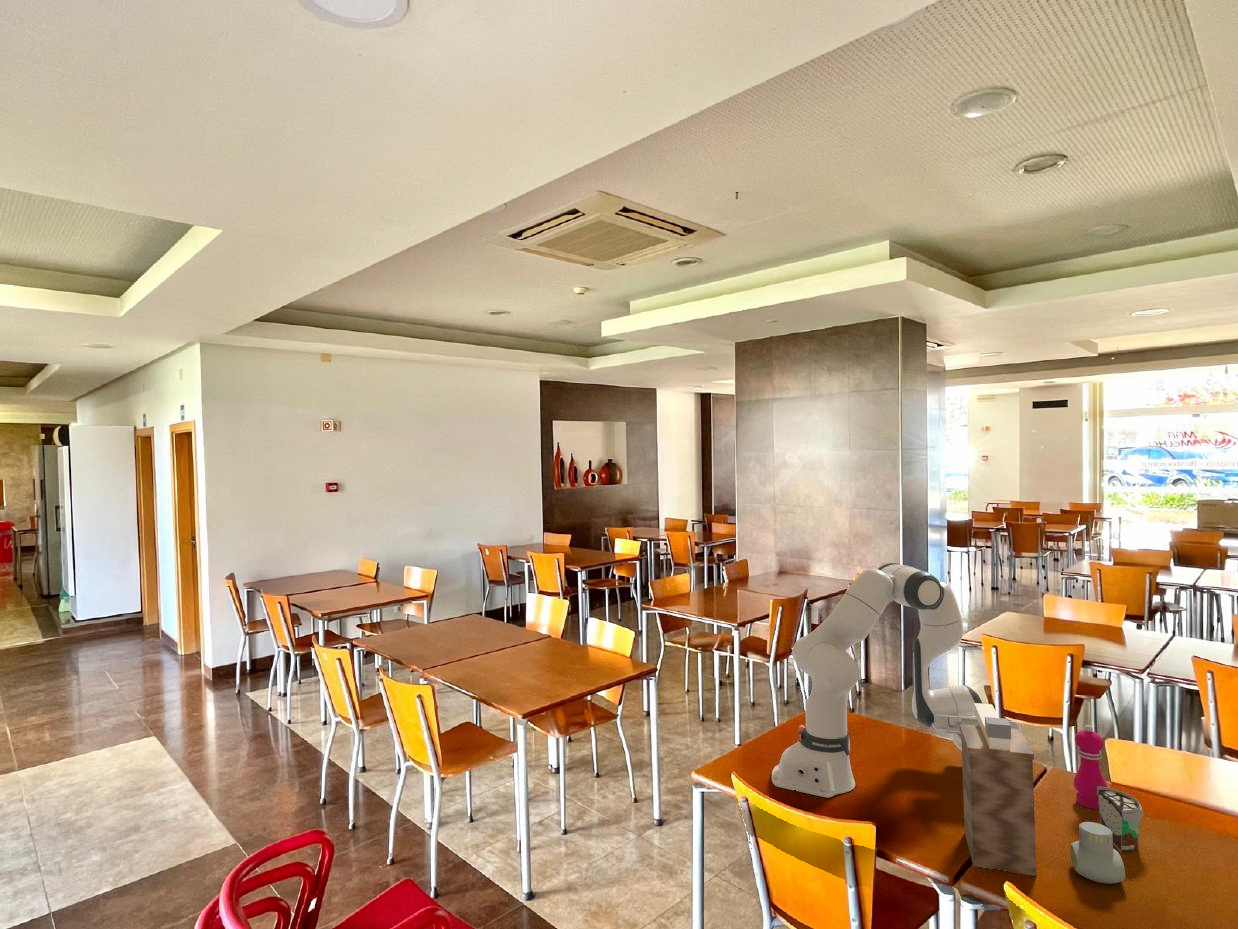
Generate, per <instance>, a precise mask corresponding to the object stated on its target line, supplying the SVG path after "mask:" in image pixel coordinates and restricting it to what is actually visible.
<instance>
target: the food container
mask: <svg viewBox="0 0 1238 929" xmlns="http://www.w3.org/2000/svg"><path fill="white" fill-rule="evenodd" d="M1097 794H1098V800H1099V809H1098V810H1099V811H1098V812H1099V820H1100V821H1099V824H1101V825H1104V826H1106V827H1107V828H1109V829H1110V830H1111V832H1112V835H1113V846H1115V847H1116V848H1117V850H1118V851H1120V853H1122V854H1129V853H1134V852H1136V851H1137V850H1138V848H1139V837H1140V836H1139V832H1140V820H1141V819H1142V818H1143V817H1144V810H1143V807H1142V805H1141V804H1140V802H1139V800H1138V799H1137V798H1135V797H1134V796H1133V795H1131V794H1129V793H1126V792H1124V791H1121V790H1119V789H1114V788H1111V787H1108V788H1106V787H1098V789H1097Z"/></svg>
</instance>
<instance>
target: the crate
mask: <svg viewBox="0 0 1238 929" xmlns="http://www.w3.org/2000/svg"><path fill="white" fill-rule="evenodd" d="M960 731H961V739H962V751H961V761H962V762H961V763H962V768H961V769H962V790H963V791H962V793H963V794H962V795H963V796H962V797H963V823H964V835H965V840H966V843H967V847H968V851H969V856H970V858H971V862H972V865H973V868H979V867H982V869H986V868H988V869H987V870H992V869H1000V870H1006V871H1009V872H1008V873H1012V874H1013V873H1014V874H1020V875H1026V876H1034V877H1038V876H1037V851H1036V849H1037V848H1036V847H1037V846H1036V824H1035V823H1036V822H1035V821H1036V820H1035V817H1036V816H1035V794H1034V792H1035V790H1034V763H1033V762H1034V761H1033V760H1035V753H1034V751H1033V750H1032V748H1031V746H1030V745H1029V743H1028V741H1027V739H1026V737H1025V736H1024V734H1023V733H1022V731H1021V729H1020V728H1019V729H1011V739H1010V749H1011V751H1006V750H995V749H989V746H988V744H987V742H986V739H985V737H984V734H983V732H982V730H981V727H980V726H976V725H965V724H960ZM1006 871H1005V872H1006Z"/></svg>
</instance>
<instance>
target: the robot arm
mask: <svg viewBox="0 0 1238 929" xmlns="http://www.w3.org/2000/svg"><path fill="white" fill-rule="evenodd" d="M892 602H896V604H899V605H902V606H905V607H908V608H909V607H910V608H913V609H916V610H917V611H918V617H919V622H920V629H919V633H918V635H917V637H916V638H915V639H913V641H912V645H911V669H912V670H911V673H912V675H911V677H912V679H911V680H912V696H911V697H912V699H911V709H912V710H911V711H912V713H913V716H914V718H915V720H916V721H917V722H918V723H920V724H922V725H923V726H925V727H928V728H934V729H935V731H936V732H938V733H940V734H950V735H951V738H952V741H953V743H954V746H956V748H958V749H959V750H960V751H961V752H962V739H961V731H960V724H965V725H976V726H980V725H979V723H978V720H977V718H976V716H975V713H974V703H981V704H983V702H982V699H981V697H980V695H979V694H978V693H977V692H976V690H974V689H973V688H971V687H970V686H968V685H966V684H964V685H963V684H962V685H957V686H956V685H954V686H948V687H943V688H942V687H941V688H936V689H929V666H930V665H931V664H932V662H933V661H935V660H936V659H937V658H938V657H940V656H942V655H944V654H946V653H947V652H949V651H951V650H953V649H955V647H957V646H958V645H959V644H960V642H961V640H962V639H963V636H964V625H963V620H962V615H961V611H960V607H959V604H958V602H957V598H956V597H955V594H954V592H953V589H952V588H951V586H950V585H949V584H947V583H946V582H944V581H942V580H939V579H938V578H936V577H935V576H934V575H933V574H932V573H930V572H928V571H924V570H921V569H918V568H916V567H915V566H914V567H913V566H911V565H906V564H899V563H896V562H894V563H893V562H892V563H891V562H889V563H886V564H885V563H884V564H882V565H881V566H879V567H878V568H877V569H876V568H867V569H864V571H862V572H861V573H860V574H859V575H858V576H857V577H856V578H855V580H854V581H853V582H852V583H851V584H850V585H849V586H848V588H847V590H846V591H845V592H844V594H843V596H842V597H841V598H840V600H839V601H838V603H837V604H836V606H835V607H834V609H833V610H832V612H830V614H829V615H828V616H827V617H826V619H824V620H823V621H822V623H820V624H819V625H818V626H816V628H815V629H814V630H813V631H811V632H809V634H807V635H806V634H805V636H802V637H800V638H798V639H797V640H796V641H795V642H794V644H793V646H792V653H791V654H792V658H793V661H794V662H795V664H796V665H797V666H798V668H799V669H800V670H801V672H802V673H805V674H806V675H807V676H809V677H810V678H811V682H812V687H811V692H810V696H809V697H808V698H807V699H806V700H805V703H804V707H805V708H804V709H805V713H804V714H805V725H803V724H800V725H799V726H798V728H797V731H798V741H797V742H796V743H794V744H792V745H791V746H789V747H787V748H786V749H785V750H784V751H783V753H781V758H780V760H779V763H778V764H776V765H775V766H774V767H773V769H772V772H771V782H772V784H773V786H774V787H778V788H782V789H785V790H791V791H794V790H796V792H799V793H805V794H810V795H814V796H818V797H823V798H832V797H834V796H836V795H839V794H845V793H848V792H850V791H852V790H854V789H855V786H856V782H855V779H854V778H855V777H854V775H853V771H852V766H851V761H850V751H851V743H850V742H851V741H850V739H851V738H850V733H849V731H848V718H847V717H848V710H847V709H848V708H847V707H848V701H849V696H850V694H851V693H850V692H851V690H852V689H853V688H854V687H855V686H856V684H857V683H858V681H859V678H860V667H859V664H858V662H857V661H856V660H855V659H854V658H853V656H851V654H849V652H848V650H849V649H850V648H851V647H853V646H854V645H855V644H857V643H860V642H862V641H864V640H865V639H866V638H867V637H868V635H869V634H870V632H872V629H873V628H874V627H875V625H876V623H877V622H878V621H879V619H880V618H881V615H882V614H883V612H884V611H885V609H886V607H887V606H888V605H889V604H890V603H892ZM1008 721H1009V723H1010V725H1011V729H1020V724H1019V722H1018V721H1017V720H1008Z"/></svg>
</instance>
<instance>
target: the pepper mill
mask: <svg viewBox="0 0 1238 929" xmlns="http://www.w3.org/2000/svg"><path fill="white" fill-rule="evenodd" d="M1093 730H1094V728H1093V725H1090V724H1086V725H1085V726H1084V729H1083V730H1080V731H1078V732H1077V733H1075V737H1074V742H1075V744H1076V745H1077V747H1078V748H1077V755H1078V756H1079V757H1080V763H1079V764H1080V765H1079V767H1078V770H1077V771H1076V773H1075V776H1074V778H1073V786H1074V789H1075V790H1076V791H1077V792H1076V794H1075V795H1076V796H1075V797H1076V802H1077V803H1078V804H1079V805H1080V806H1082V805H1083V807H1085V808H1088V809H1091V808H1094V809H1093V810H1099V800H1098V794H1097V789H1098V787H1106V788H1109V787H1108V784H1107V781H1106V779H1105V777H1104V775H1103V773H1102V772H1101V768H1100V761H1101V759H1102V752H1101V751H1102V750H1103V748H1104V744H1105V743H1104V739H1103V738H1102V737H1101V735H1100V734H1099V733H1098V732H1095V731H1093Z"/></svg>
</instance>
